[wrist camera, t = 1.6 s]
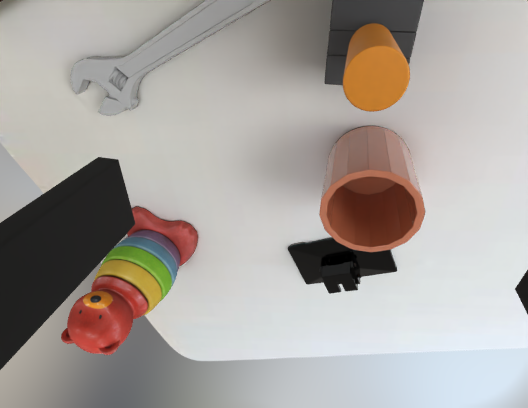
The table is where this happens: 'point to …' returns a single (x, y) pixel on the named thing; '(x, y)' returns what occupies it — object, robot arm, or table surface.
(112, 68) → the adjustable wrench
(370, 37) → the orange round dowel
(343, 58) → the holder
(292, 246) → the build plate
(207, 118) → the table surface
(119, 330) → the stacking bear
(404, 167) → the pen cup
